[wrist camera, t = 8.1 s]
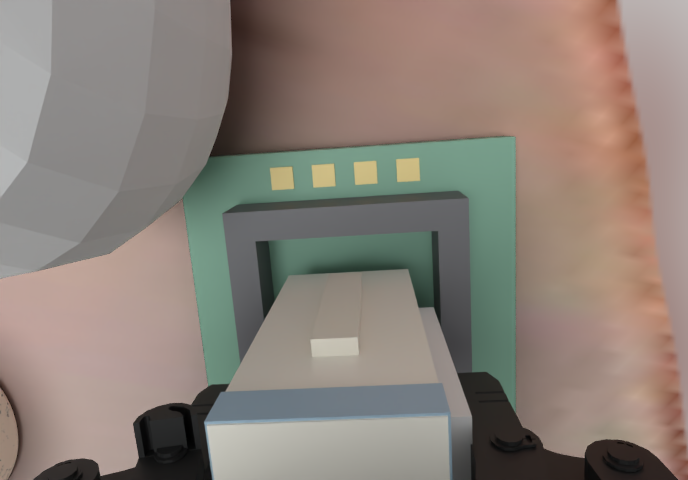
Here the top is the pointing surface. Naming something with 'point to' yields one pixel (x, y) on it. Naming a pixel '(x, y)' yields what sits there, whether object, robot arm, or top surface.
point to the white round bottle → (103, 119)
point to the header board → (361, 239)
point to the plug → (335, 388)
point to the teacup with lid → (7, 438)
